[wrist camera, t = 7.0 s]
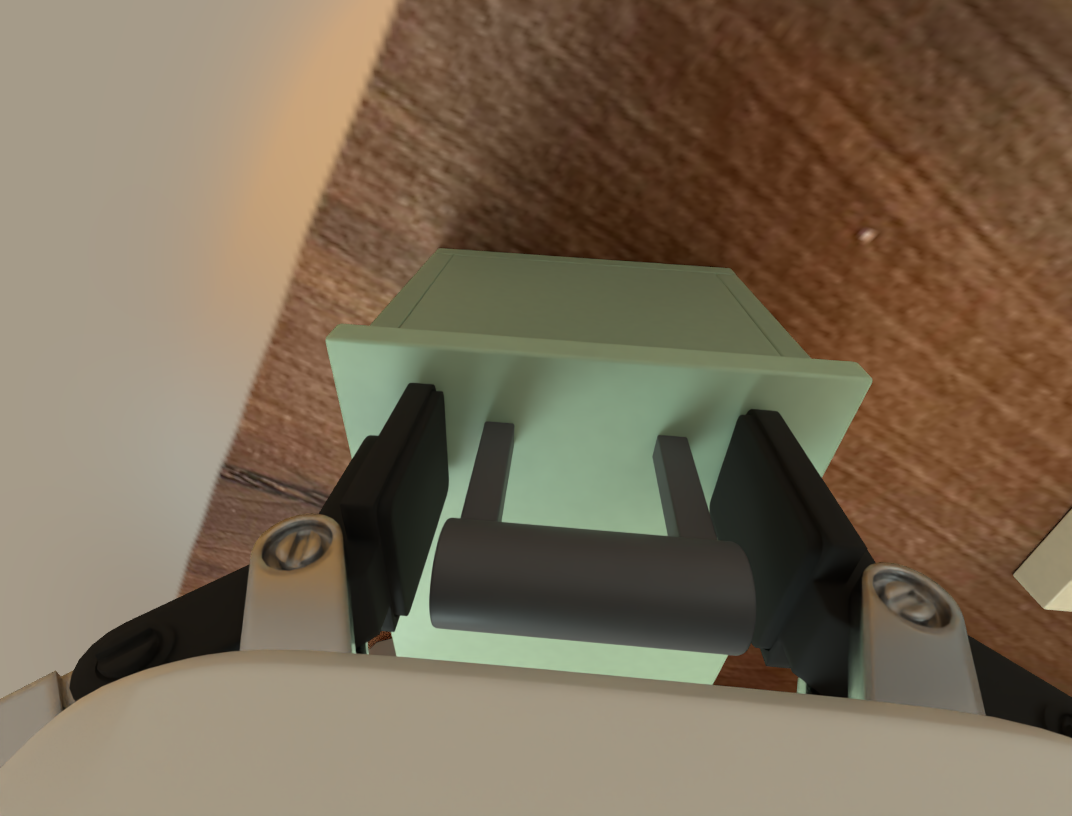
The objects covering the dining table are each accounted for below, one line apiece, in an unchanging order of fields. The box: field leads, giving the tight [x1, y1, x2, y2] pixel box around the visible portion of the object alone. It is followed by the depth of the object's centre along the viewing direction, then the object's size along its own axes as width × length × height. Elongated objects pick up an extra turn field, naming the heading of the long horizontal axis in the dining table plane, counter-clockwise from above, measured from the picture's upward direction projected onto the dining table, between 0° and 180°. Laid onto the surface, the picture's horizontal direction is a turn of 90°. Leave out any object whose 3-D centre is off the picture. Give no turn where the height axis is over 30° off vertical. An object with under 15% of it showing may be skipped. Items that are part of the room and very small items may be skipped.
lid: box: [326, 324, 872, 685], centre depth 13 cm, size 15×12×6 cm
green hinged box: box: [370, 248, 811, 359], centre depth 20 cm, size 15×12×9 cm
